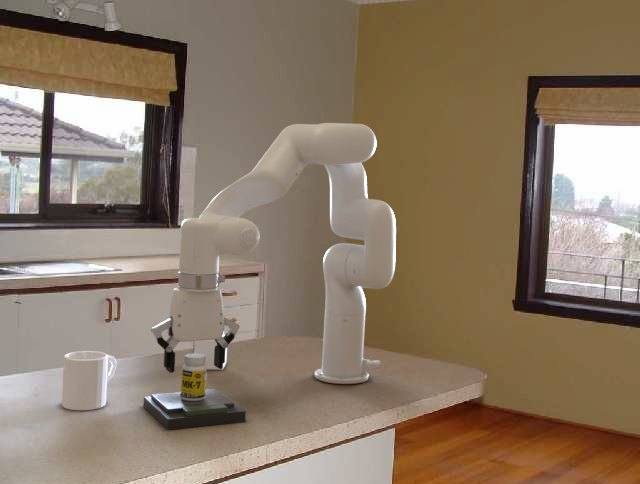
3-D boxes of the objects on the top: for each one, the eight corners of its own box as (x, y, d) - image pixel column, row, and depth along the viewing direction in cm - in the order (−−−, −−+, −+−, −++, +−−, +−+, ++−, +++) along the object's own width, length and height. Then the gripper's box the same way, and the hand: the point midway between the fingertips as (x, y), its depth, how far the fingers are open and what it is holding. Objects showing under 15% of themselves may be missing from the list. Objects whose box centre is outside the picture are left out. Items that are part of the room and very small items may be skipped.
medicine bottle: (196, 362, 213) (198, 313, 212) (226, 363, 213) (228, 314, 213) (192, 369, 206) (194, 318, 205) (222, 370, 206) (225, 319, 206)
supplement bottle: (177, 400, 169) (179, 357, 169) (183, 394, 174) (185, 352, 173) (202, 402, 169) (204, 359, 169) (207, 395, 174) (209, 353, 173)
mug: (129, 400, 177) (131, 351, 177) (82, 413, 167) (84, 362, 166) (100, 393, 181) (103, 345, 181) (52, 405, 171) (55, 355, 170)
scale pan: (214, 392, 180) (214, 388, 179) (234, 406, 170) (234, 402, 170) (151, 398, 173) (151, 394, 173) (167, 413, 163) (168, 409, 163)
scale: (216, 399, 181) (216, 385, 181) (245, 421, 168) (246, 406, 168) (143, 406, 173) (144, 391, 173) (167, 430, 160) (168, 413, 160)
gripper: (233, 278, 178) (229, 361, 179) (148, 280, 169) (144, 368, 170) (247, 283, 172) (243, 370, 173) (159, 286, 163) (155, 377, 163)
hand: (194, 369), depth 171 cm, fingers open, 9 cm apart
